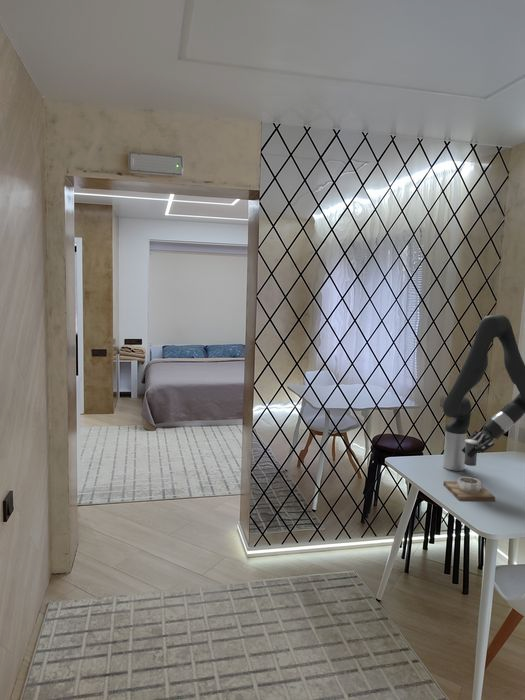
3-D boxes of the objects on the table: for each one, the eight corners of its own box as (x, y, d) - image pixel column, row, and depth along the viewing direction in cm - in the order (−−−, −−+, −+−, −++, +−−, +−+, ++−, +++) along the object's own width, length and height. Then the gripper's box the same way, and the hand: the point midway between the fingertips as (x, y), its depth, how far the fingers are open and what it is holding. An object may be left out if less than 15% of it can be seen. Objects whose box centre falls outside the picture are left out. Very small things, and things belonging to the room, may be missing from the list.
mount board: (443, 484, 209) (443, 481, 209) (476, 485, 209) (476, 481, 209) (458, 500, 193) (459, 496, 193) (494, 500, 194) (495, 497, 193)
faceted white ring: (453, 484, 205) (454, 476, 205) (474, 485, 206) (474, 476, 205) (462, 492, 197) (462, 484, 197) (483, 493, 197) (484, 484, 197)
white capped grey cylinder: (461, 461, 203) (462, 439, 202) (473, 462, 203) (475, 439, 202) (466, 466, 198) (468, 442, 197) (479, 466, 198) (480, 442, 197)
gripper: (483, 414, 205) (452, 442, 206) (500, 422, 191) (467, 453, 192) (495, 427, 206) (464, 455, 207) (513, 436, 192) (479, 466, 193)
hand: (466, 454), depth 200 cm, fingers closed on white capped grey cylinder, 4 cm apart
